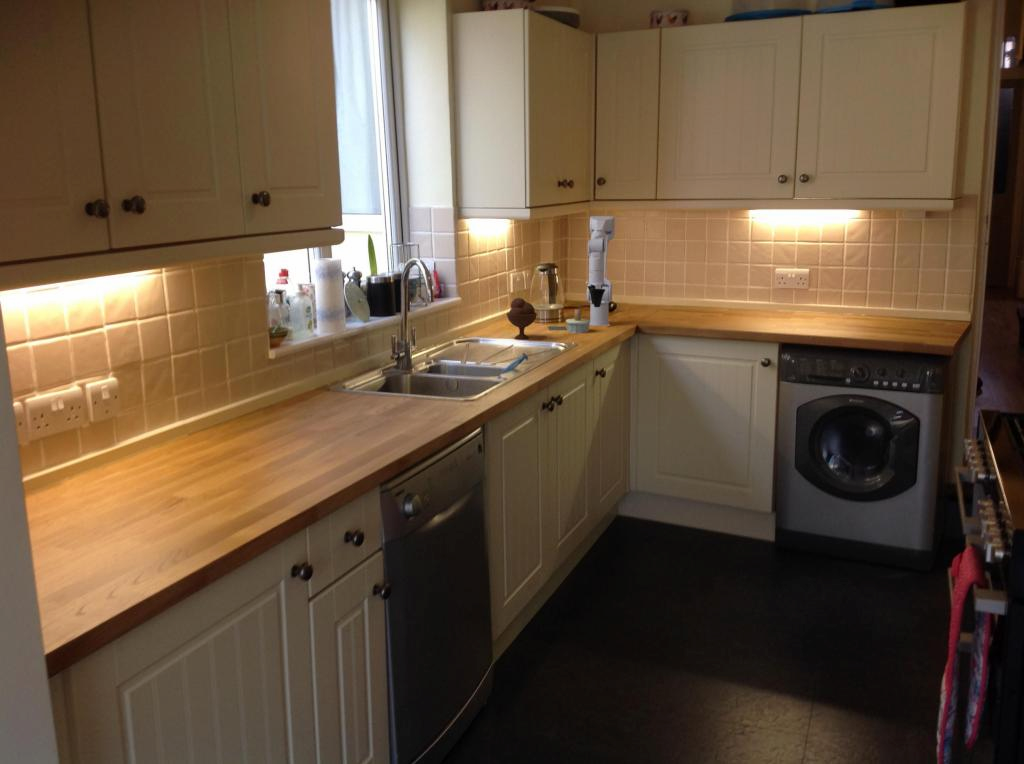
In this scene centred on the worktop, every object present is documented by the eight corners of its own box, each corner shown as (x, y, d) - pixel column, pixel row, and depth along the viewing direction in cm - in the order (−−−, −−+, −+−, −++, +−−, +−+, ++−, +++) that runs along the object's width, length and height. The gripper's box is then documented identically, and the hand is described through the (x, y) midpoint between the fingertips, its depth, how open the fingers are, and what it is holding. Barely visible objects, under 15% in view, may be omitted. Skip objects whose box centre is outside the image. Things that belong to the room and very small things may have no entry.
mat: (547, 328, 380) (547, 326, 380) (565, 327, 380) (565, 326, 380) (549, 331, 371) (549, 330, 371) (567, 331, 372) (567, 330, 371)
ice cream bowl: (512, 341, 350) (512, 300, 347) (503, 336, 360) (503, 296, 357) (540, 340, 353) (540, 299, 349) (531, 335, 363) (531, 295, 360)
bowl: (567, 331, 372) (567, 320, 372) (587, 330, 373) (587, 320, 372) (568, 334, 365) (568, 324, 364) (589, 334, 365) (590, 323, 364)
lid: (565, 320, 372) (565, 308, 371) (588, 320, 372) (589, 308, 371) (566, 324, 364) (566, 311, 363) (590, 324, 363) (590, 311, 362)
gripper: (584, 268, 374) (583, 303, 377) (588, 272, 360) (587, 308, 362) (602, 268, 374) (601, 303, 377) (606, 272, 360) (606, 308, 363)
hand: (596, 305), depth 370 cm, fingers open, 7 cm apart
